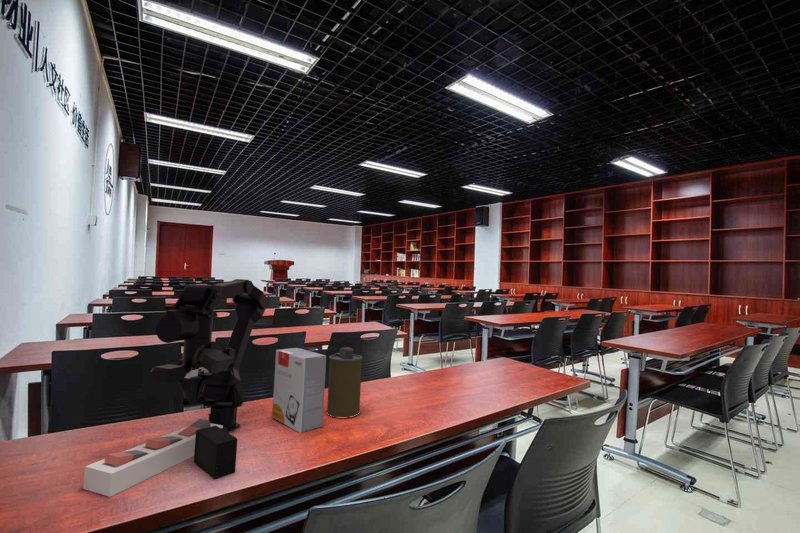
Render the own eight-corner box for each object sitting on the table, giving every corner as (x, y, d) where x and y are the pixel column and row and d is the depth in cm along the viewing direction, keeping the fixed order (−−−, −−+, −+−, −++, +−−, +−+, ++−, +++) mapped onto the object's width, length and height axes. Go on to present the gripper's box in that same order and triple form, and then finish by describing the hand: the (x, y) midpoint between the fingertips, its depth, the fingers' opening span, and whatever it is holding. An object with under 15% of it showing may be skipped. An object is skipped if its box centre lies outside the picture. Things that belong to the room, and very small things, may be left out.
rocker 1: (134, 457, 76) (136, 450, 76) (145, 460, 75) (147, 452, 75) (104, 462, 70) (106, 454, 71) (116, 465, 69) (118, 457, 70)
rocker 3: (200, 424, 91) (199, 418, 91) (210, 426, 90) (209, 420, 90) (178, 439, 85) (177, 433, 85) (189, 441, 84) (188, 435, 84)
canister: (366, 414, 115) (369, 349, 116) (337, 421, 108) (340, 351, 110) (348, 405, 123) (350, 344, 125) (319, 411, 117) (322, 346, 118)
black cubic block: (241, 470, 78) (243, 436, 78) (214, 480, 74) (217, 443, 74) (219, 455, 84) (221, 423, 85) (193, 462, 80) (196, 429, 81)
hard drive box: (270, 418, 109) (274, 349, 110) (294, 412, 114) (297, 347, 116) (300, 433, 98) (304, 357, 99) (324, 426, 104) (327, 354, 105)
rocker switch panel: (209, 433, 96) (210, 417, 96) (231, 437, 94) (232, 421, 94) (83, 488, 69) (85, 466, 69) (109, 496, 66) (111, 473, 67)
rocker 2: (169, 442, 83) (171, 436, 84) (180, 445, 82) (182, 438, 83) (145, 446, 78) (147, 438, 78) (156, 448, 77) (158, 441, 77)
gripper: (190, 345, 77) (185, 422, 76) (253, 335, 94) (249, 398, 93) (151, 340, 80) (144, 415, 79) (218, 332, 98) (214, 393, 97)
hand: (193, 404), depth 87 cm, fingers closed
